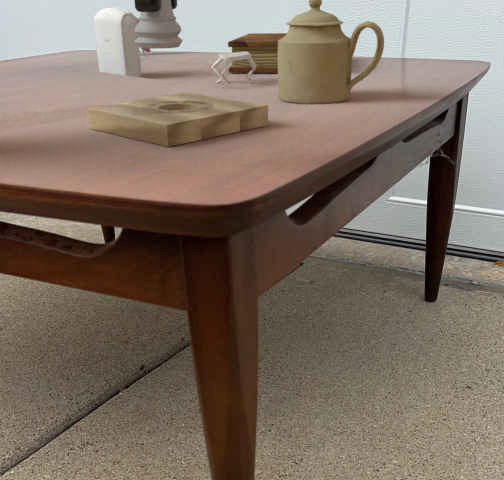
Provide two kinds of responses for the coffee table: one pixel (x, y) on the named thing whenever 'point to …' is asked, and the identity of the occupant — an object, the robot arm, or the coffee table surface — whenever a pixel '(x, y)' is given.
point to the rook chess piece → (158, 28)
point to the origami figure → (233, 57)
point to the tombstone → (117, 42)
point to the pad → (178, 118)
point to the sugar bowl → (320, 58)
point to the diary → (257, 52)
